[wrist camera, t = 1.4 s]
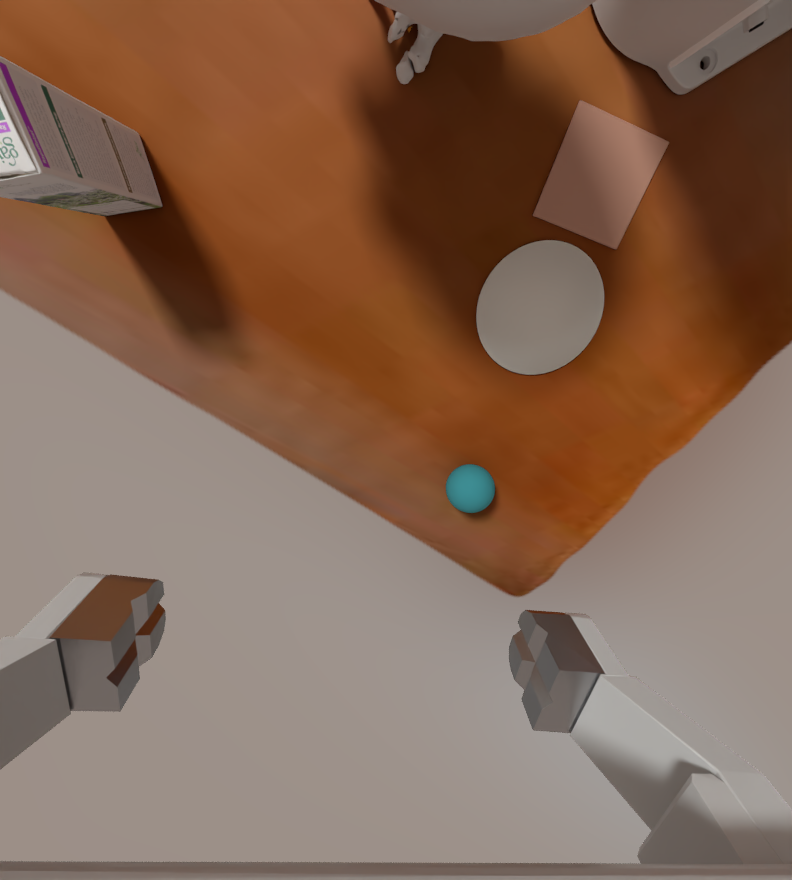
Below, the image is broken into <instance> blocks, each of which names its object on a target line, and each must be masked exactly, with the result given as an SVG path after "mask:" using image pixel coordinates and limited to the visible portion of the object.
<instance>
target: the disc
mask: <svg viewBox="0 0 792 880" xmlns="http://www.w3.org/2000/svg"><path fill="white" fill-rule="evenodd" d="M603 308H604V288H603V282H602V279H601V276H600V273H599V271H598V269H597V267H596V265H595V264H594V262H593V261H592V259H591V258H590V257H589V256H588V255H587V254H586V253H585V252H583V251H582V250H581V249H579V248H578V247H576V246H574V245H572V244H569V243H566V242H562V241H556V240H544V241H537V242H533V243H530V244H527V245H524V246H522V247H520V248H518V249H516V250H514V251H513V252H511V253H510V254H508V255H507V256H506V257H505V258H503V259H502V260H501V261H500V262H499V263H498V264H497V265H496V267H495V268H494V269H493V270H492V272H491V273H490V274H489V276H488V278H487V279H486V281H485V283H484V285H483V287H482V290H481V293H480V296H479V299H478V304H477V311H476V325H477V330H478V335H479V338H480V341H481V343H482V345H483V347H484V349H485V350H486V352H487V353H488V355H489V356H490V357H491V358H492V359H493V360H494V361H495V362H496V363H498V364H499V365H500V366H502V367H504V368H505V369H507V370H510V371H512V372H515V373H519V374H526V375H536V374H543V373H547V372H551V371H553V370H556V369H558V368H560V367H562V366H564V365H566V364H567V363H569V362H570V361H572V360H573V359H574V358H575V357H577V356H578V355H579V354H580V353H581V352H582V351H583V350H584V349H585V348H586V346H587V345H588V344H589V342H590V341H591V339H592V338H593V336H594V334H595V333H596V330H597V328H598V326H599V323H600V320H601V317H602V313H603Z"/></svg>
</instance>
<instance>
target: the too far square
mask: <svg viewBox="0 0 792 880" xmlns="http://www.w3.org/2000/svg"><path fill="white" fill-rule="evenodd" d="M668 144H669V142H668V141H666V140H664V139H662V138H660V137H658V136H656V135H653V134H651V133H649V132H647V131H645V130H643V129H641V128H639V127H637V126H634V125H632V124H630V123H628V122H626V121H624V120H622V119H620V118H618V117H616V116H613V115H611V114H609V113H607V112H605V111H603V110H601V109H599V108H597V107H594V106H592V105H590V104H588V103H586V102H584V101H582V100H579V102H578V105H577V107H576V110H575V112H574V115H573V117H572V120H571V122H570V125H569V127H568V129H567V132H566V134H565V137H564V139H563V142H562V144H561V147H560V149H559V151H558V154H557V156H556V159H555V161H554V164H553V166H552V169H551V171H550V174H549V176H548V178H547V181H546V183H545V186H544V188H543V191H542V193H541V196H540V198H539V201H538V203H537V205H536V208H535V210H534V213H533V215H532V216H535V217H537V218H539V219H542V220H544V221H547V222H549V223H552V224H554V225H556V226H559V227H561V228H564V229H566V230H569V231H571V232H573V233H576V234H578V235H581V236H583V237H586V238H588V239H590V240H593V241H595V242H598V243H600V244H603V245H605V246H607V247H610V248H612V249H615V250H616V249H617V247H618V245H619V243H620V241H621V239H622V237H623V235H624V233H625V231H626V229H627V227H628V225H629V223H630V221H631V219H632V217H633V215H634V213H635V211H636V209H637V207H638V205H639V203H640V201H641V199H642V197H643V195H644V193H645V191H646V189H647V187H648V185H649V182H650V180H651V178H652V176H653V174H654V172H655V170H656V168H657V166H658V164H659V162H660V160H661V158H662V156H663V154H664V152H665V150H666V148H667V146H668Z"/></svg>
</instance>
